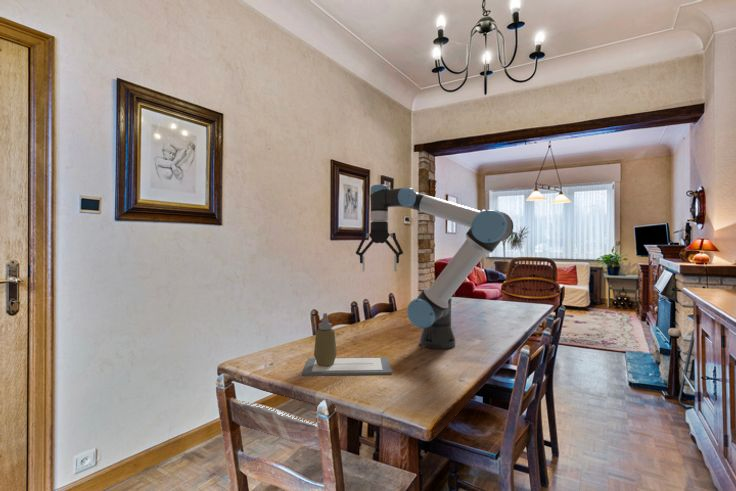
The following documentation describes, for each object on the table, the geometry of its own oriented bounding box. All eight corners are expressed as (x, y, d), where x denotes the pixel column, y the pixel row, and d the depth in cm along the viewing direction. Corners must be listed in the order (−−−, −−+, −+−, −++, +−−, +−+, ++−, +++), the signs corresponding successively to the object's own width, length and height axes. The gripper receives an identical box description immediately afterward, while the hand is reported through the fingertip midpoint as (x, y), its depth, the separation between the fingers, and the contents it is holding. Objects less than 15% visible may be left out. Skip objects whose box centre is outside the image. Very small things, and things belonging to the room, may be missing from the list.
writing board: (387, 359, 146) (387, 356, 146) (391, 374, 130) (391, 371, 130) (308, 360, 145) (308, 357, 145) (302, 375, 129) (302, 372, 129)
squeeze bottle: (333, 368, 132) (332, 316, 132) (310, 367, 134) (310, 315, 134) (339, 361, 140) (339, 311, 140) (318, 359, 142) (318, 311, 141)
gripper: (407, 221, 169) (407, 270, 169) (350, 221, 168) (350, 270, 168) (409, 221, 161) (409, 271, 162) (349, 221, 160) (350, 272, 161)
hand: (379, 271), depth 165 cm, fingers open, 13 cm apart
